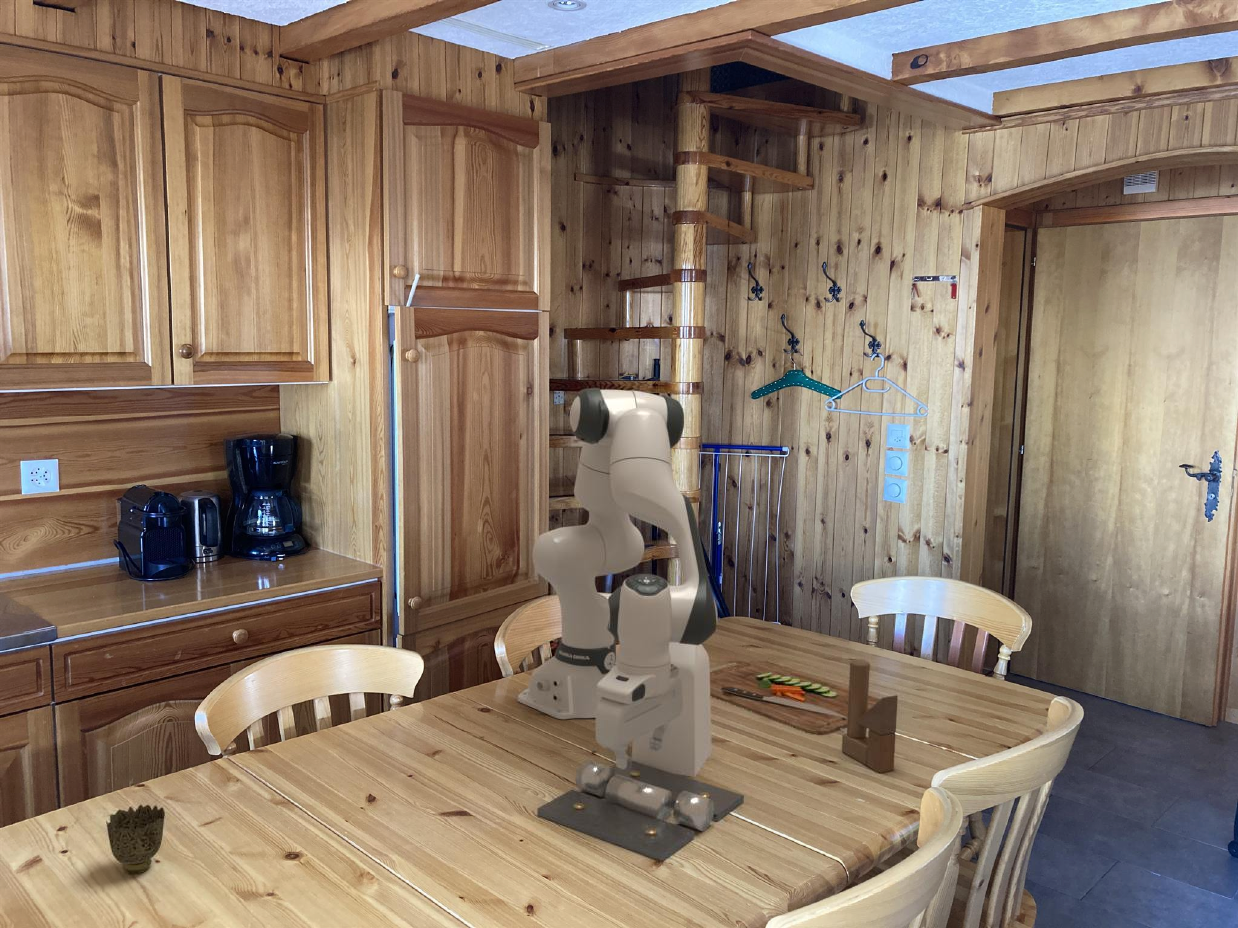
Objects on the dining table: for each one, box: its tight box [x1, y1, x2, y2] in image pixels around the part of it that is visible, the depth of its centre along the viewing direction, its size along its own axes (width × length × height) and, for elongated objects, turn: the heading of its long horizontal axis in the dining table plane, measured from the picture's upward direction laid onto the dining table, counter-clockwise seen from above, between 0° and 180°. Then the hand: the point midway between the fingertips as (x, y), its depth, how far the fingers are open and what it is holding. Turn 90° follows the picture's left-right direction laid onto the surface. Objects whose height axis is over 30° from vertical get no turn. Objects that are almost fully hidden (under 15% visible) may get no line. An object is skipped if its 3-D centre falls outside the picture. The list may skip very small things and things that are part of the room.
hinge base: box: [536, 759, 745, 863], centre depth 163 cm, size 24×25×5 cm
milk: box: [631, 642, 712, 778], centre depth 182 cm, size 12×12×26 cm
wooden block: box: [841, 659, 899, 774], centre depth 183 cm, size 4×11×18 cm, turn 26°
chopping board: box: [710, 660, 881, 736], centre depth 219 cm, size 45×27×3 cm, turn 40°
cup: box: [105, 804, 166, 874], centre depth 140 cm, size 8×7×8 cm
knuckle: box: [604, 774, 673, 821], centre depth 162 cm, size 10×5×5 cm
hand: (640, 757), depth 162 cm, fingers open, 8 cm apart
